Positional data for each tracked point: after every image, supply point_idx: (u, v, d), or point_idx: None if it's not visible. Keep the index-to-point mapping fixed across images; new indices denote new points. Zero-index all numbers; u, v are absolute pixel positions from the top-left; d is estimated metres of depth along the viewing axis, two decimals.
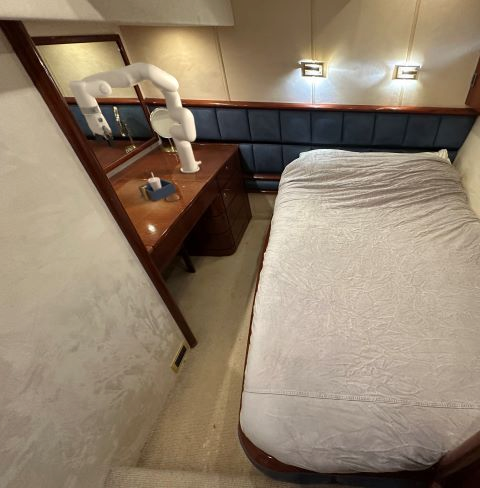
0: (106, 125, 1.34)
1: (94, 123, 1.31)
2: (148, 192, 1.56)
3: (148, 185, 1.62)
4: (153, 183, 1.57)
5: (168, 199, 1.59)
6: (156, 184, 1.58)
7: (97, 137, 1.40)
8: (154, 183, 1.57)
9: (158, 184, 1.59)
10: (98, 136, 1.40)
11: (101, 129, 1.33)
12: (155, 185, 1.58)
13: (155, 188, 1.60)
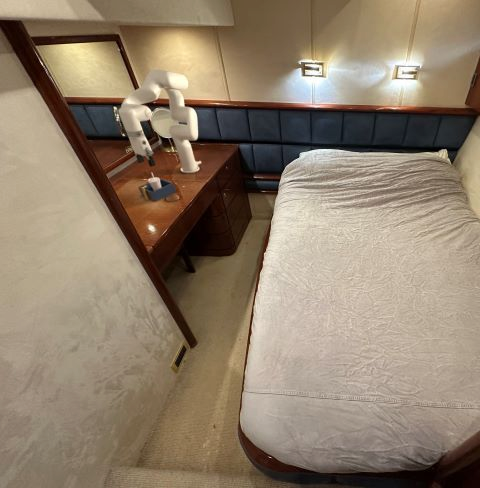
0: (148, 147, 1.45)
1: (138, 145, 1.42)
2: (148, 192, 1.56)
3: (148, 185, 1.62)
4: (153, 183, 1.57)
5: (168, 199, 1.59)
6: (156, 184, 1.58)
7: (138, 157, 1.51)
8: (154, 183, 1.57)
9: (158, 184, 1.59)
10: (139, 156, 1.51)
11: (144, 151, 1.43)
12: (155, 185, 1.58)
13: (155, 188, 1.60)
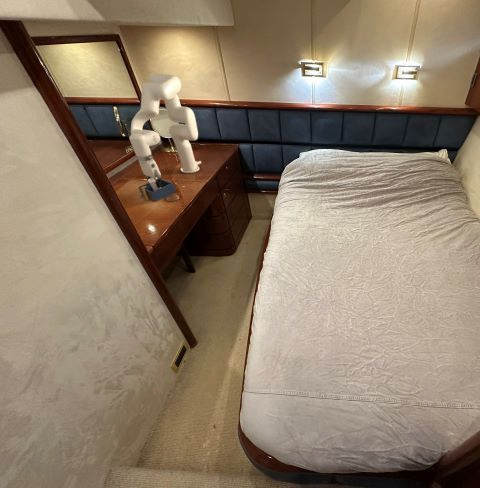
0: (157, 169, 1.53)
1: (148, 168, 1.50)
2: (148, 192, 1.56)
3: (148, 185, 1.62)
4: (153, 183, 1.57)
5: (168, 199, 1.59)
6: None
7: None
8: (154, 183, 1.57)
9: None
10: None
11: (153, 173, 1.52)
12: (155, 185, 1.58)
13: (155, 188, 1.60)
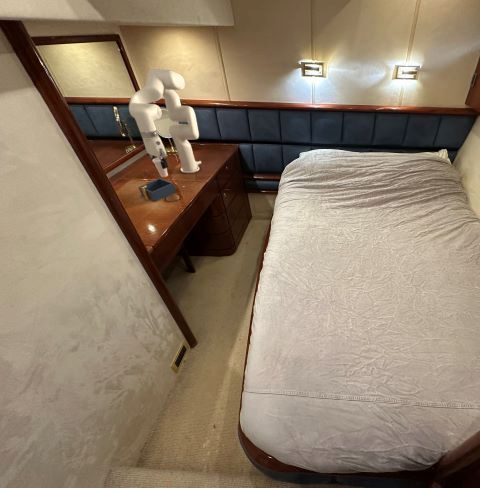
0: (162, 147, 1.40)
1: (152, 146, 1.38)
2: (148, 192, 1.56)
3: (148, 185, 1.62)
4: (158, 163, 1.44)
5: (168, 199, 1.59)
6: None
7: None
8: (159, 163, 1.44)
9: None
10: None
11: (158, 151, 1.39)
12: (160, 165, 1.45)
13: (160, 169, 1.47)
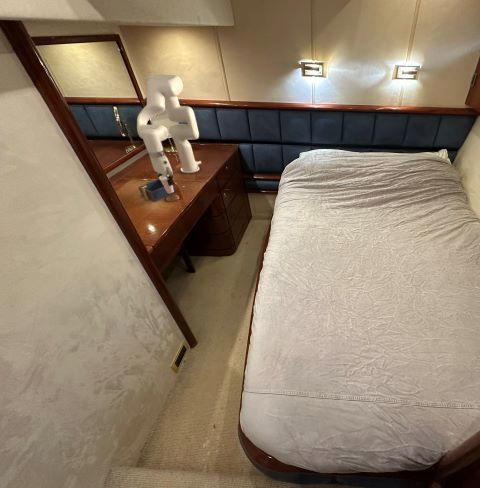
0: (169, 166, 1.47)
1: (159, 165, 1.44)
2: (148, 192, 1.56)
3: (148, 185, 1.62)
4: (164, 181, 1.51)
5: (168, 199, 1.59)
6: (167, 182, 1.52)
7: None
8: (165, 181, 1.51)
9: None
10: None
11: (165, 170, 1.46)
12: (166, 183, 1.52)
13: (166, 186, 1.53)
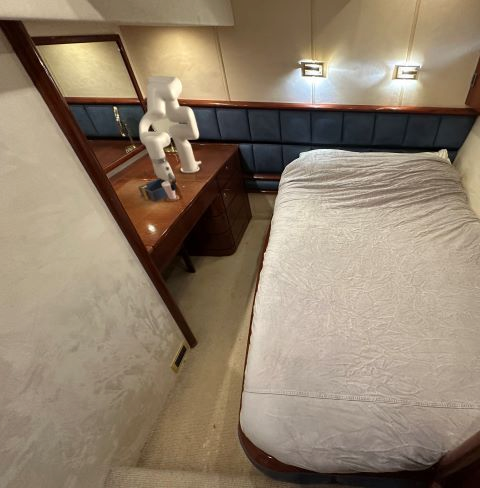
0: (171, 172, 1.49)
1: (162, 171, 1.47)
2: (148, 192, 1.56)
3: (148, 185, 1.62)
4: (167, 187, 1.53)
5: (168, 199, 1.59)
6: (170, 188, 1.55)
7: (160, 181, 1.55)
8: (168, 187, 1.54)
9: None
10: (161, 180, 1.56)
11: (167, 176, 1.48)
12: (169, 189, 1.55)
13: (169, 192, 1.56)
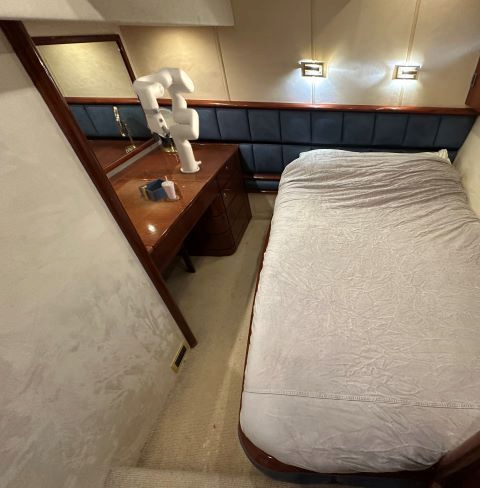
0: (165, 125, 1.47)
1: (155, 123, 1.44)
2: (148, 192, 1.56)
3: (148, 185, 1.62)
4: (167, 187, 1.53)
5: (168, 199, 1.59)
6: (170, 188, 1.55)
7: (154, 135, 1.53)
8: (168, 187, 1.54)
9: (172, 188, 1.56)
10: (155, 134, 1.53)
11: (161, 128, 1.46)
12: (169, 189, 1.55)
13: (169, 192, 1.56)
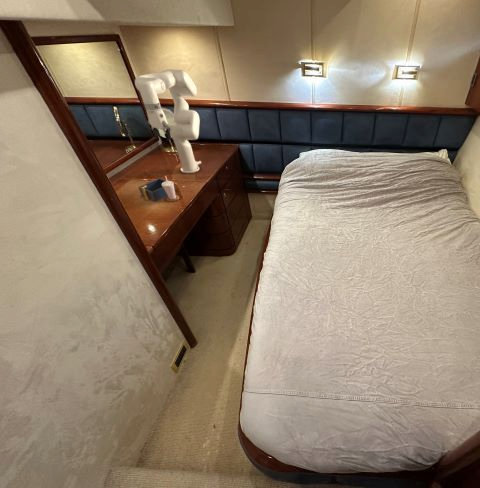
0: (165, 120, 1.48)
1: (156, 118, 1.45)
2: (148, 192, 1.56)
3: (148, 185, 1.62)
4: (167, 187, 1.53)
5: (168, 199, 1.59)
6: (170, 188, 1.55)
7: (155, 131, 1.54)
8: (168, 187, 1.54)
9: (172, 188, 1.56)
10: (155, 130, 1.54)
11: (161, 124, 1.47)
12: (169, 189, 1.55)
13: (169, 192, 1.56)
